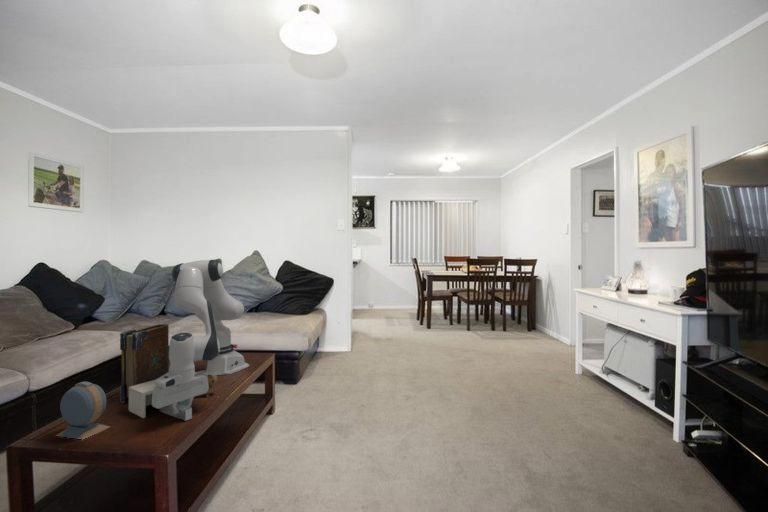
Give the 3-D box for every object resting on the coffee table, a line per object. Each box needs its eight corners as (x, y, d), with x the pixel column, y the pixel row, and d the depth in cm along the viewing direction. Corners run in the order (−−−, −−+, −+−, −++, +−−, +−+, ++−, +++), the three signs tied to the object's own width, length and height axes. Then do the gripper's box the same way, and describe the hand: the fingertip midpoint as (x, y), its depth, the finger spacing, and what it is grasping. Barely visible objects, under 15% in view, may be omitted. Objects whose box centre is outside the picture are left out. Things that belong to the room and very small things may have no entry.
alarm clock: (112, 427, 131) (112, 379, 131) (85, 440, 121) (85, 388, 121) (82, 423, 134) (82, 376, 134) (53, 436, 124) (53, 385, 125)
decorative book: (136, 403, 152) (136, 333, 152) (120, 402, 153) (120, 333, 153) (171, 383, 176) (171, 323, 176) (157, 383, 176) (157, 322, 176)
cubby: (174, 396, 160) (174, 374, 160) (189, 402, 153) (189, 379, 153) (128, 410, 145) (128, 386, 145) (142, 418, 138) (142, 393, 138)
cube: (184, 404, 151) (184, 392, 151) (191, 406, 149) (191, 394, 149) (173, 408, 147) (173, 396, 147) (180, 411, 144) (180, 399, 144)
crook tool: (177, 404, 151) (177, 395, 151) (204, 413, 142) (203, 403, 142) (159, 411, 144) (159, 401, 144) (185, 420, 135) (185, 410, 135)
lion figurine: (218, 391, 165) (218, 372, 165) (217, 396, 160) (217, 376, 160) (181, 396, 159) (181, 376, 159) (180, 401, 154) (180, 380, 154)
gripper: (203, 367, 149) (203, 400, 149) (149, 381, 132) (149, 419, 132) (211, 370, 146) (211, 404, 145) (158, 385, 128) (157, 423, 128)
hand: (181, 411), depth 138 cm, fingers closed on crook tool, 3 cm apart
